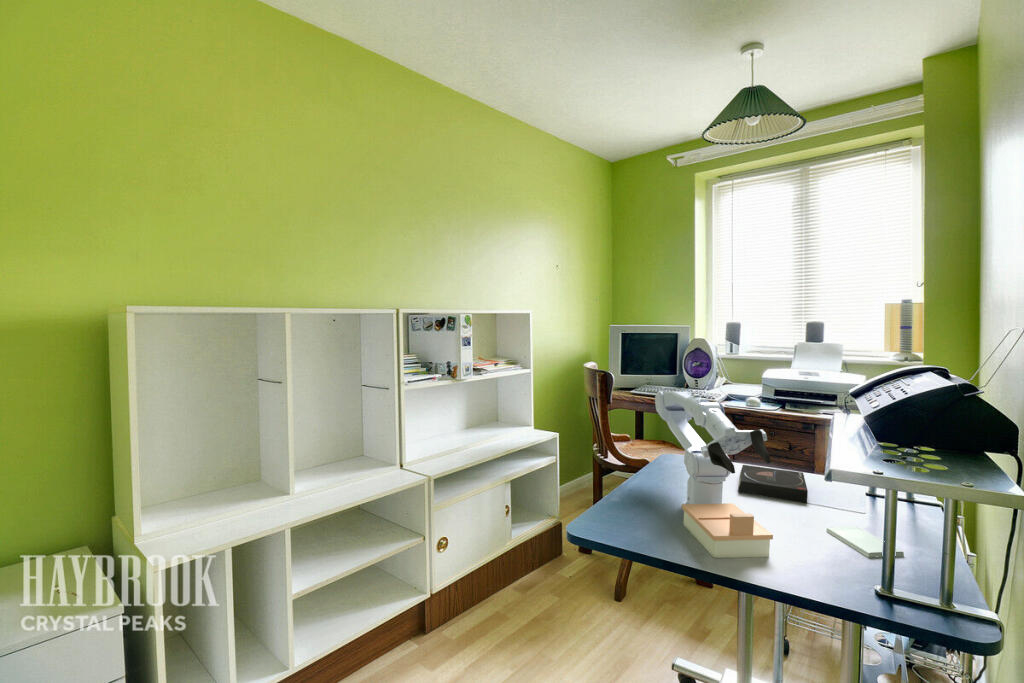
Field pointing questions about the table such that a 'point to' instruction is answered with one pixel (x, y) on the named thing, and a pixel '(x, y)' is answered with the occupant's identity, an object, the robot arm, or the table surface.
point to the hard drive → (860, 540)
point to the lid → (726, 522)
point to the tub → (727, 543)
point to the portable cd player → (773, 483)
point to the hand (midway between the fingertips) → (750, 464)
